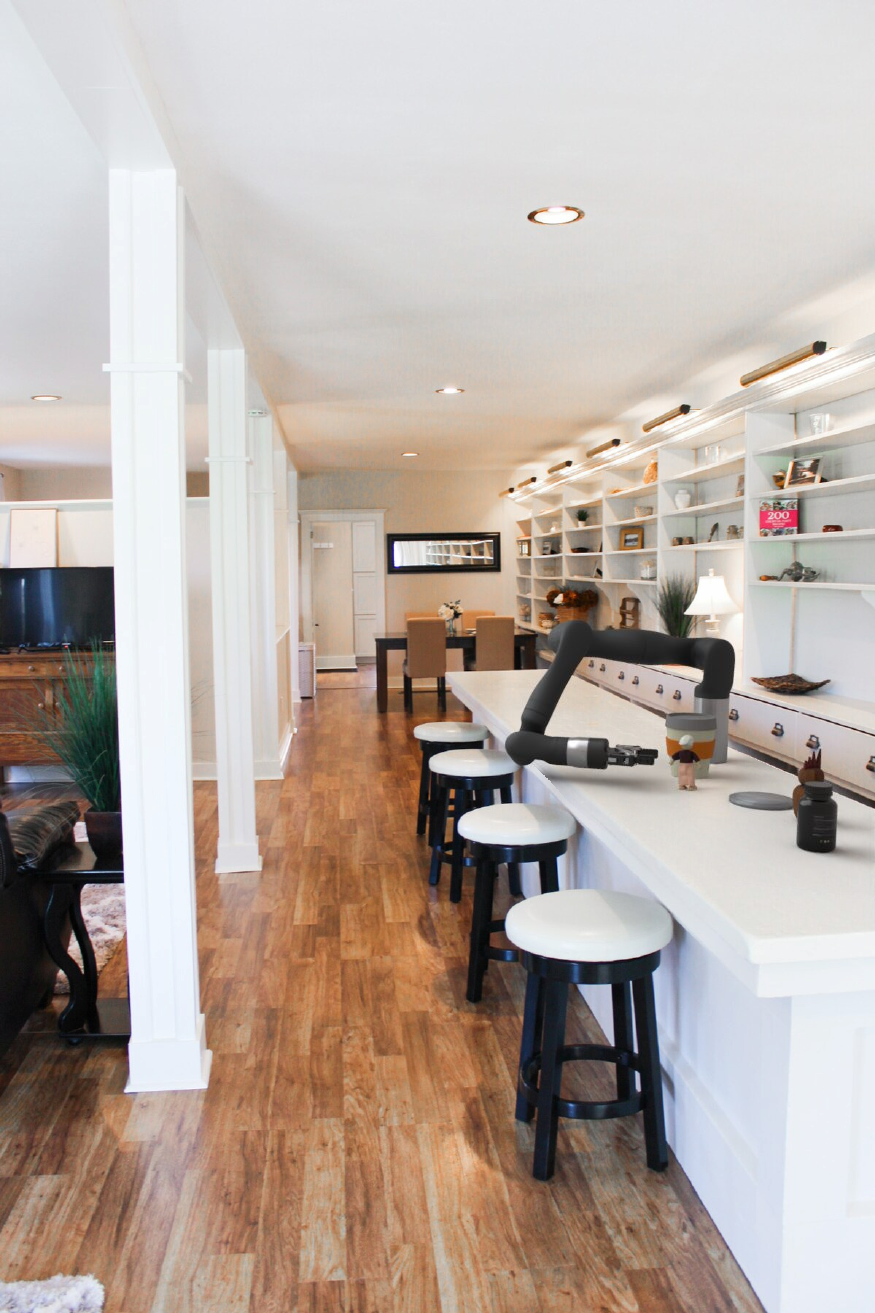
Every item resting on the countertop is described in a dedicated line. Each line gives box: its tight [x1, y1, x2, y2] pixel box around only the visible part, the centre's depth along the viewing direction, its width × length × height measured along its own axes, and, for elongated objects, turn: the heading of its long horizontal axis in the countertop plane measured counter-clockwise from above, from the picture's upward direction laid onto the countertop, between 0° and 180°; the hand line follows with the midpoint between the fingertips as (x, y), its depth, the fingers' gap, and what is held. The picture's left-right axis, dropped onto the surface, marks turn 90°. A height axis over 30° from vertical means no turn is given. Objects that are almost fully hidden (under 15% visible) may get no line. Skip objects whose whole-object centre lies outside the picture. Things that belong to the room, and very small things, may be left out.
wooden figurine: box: [791, 748, 825, 819], centre depth 191 cm, size 7×6×15 cm
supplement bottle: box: [795, 781, 839, 854], centre depth 172 cm, size 7×7×12 cm
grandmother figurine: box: [668, 735, 702, 791], centre depth 220 cm, size 8×4×13 cm, turn 71°
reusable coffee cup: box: [664, 712, 717, 780], centre depth 235 cm, size 13×13×15 cm
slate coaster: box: [728, 791, 793, 811], centre depth 208 cm, size 14×14×1 cm
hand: (656, 757), depth 222 cm, fingers open, 8 cm apart
